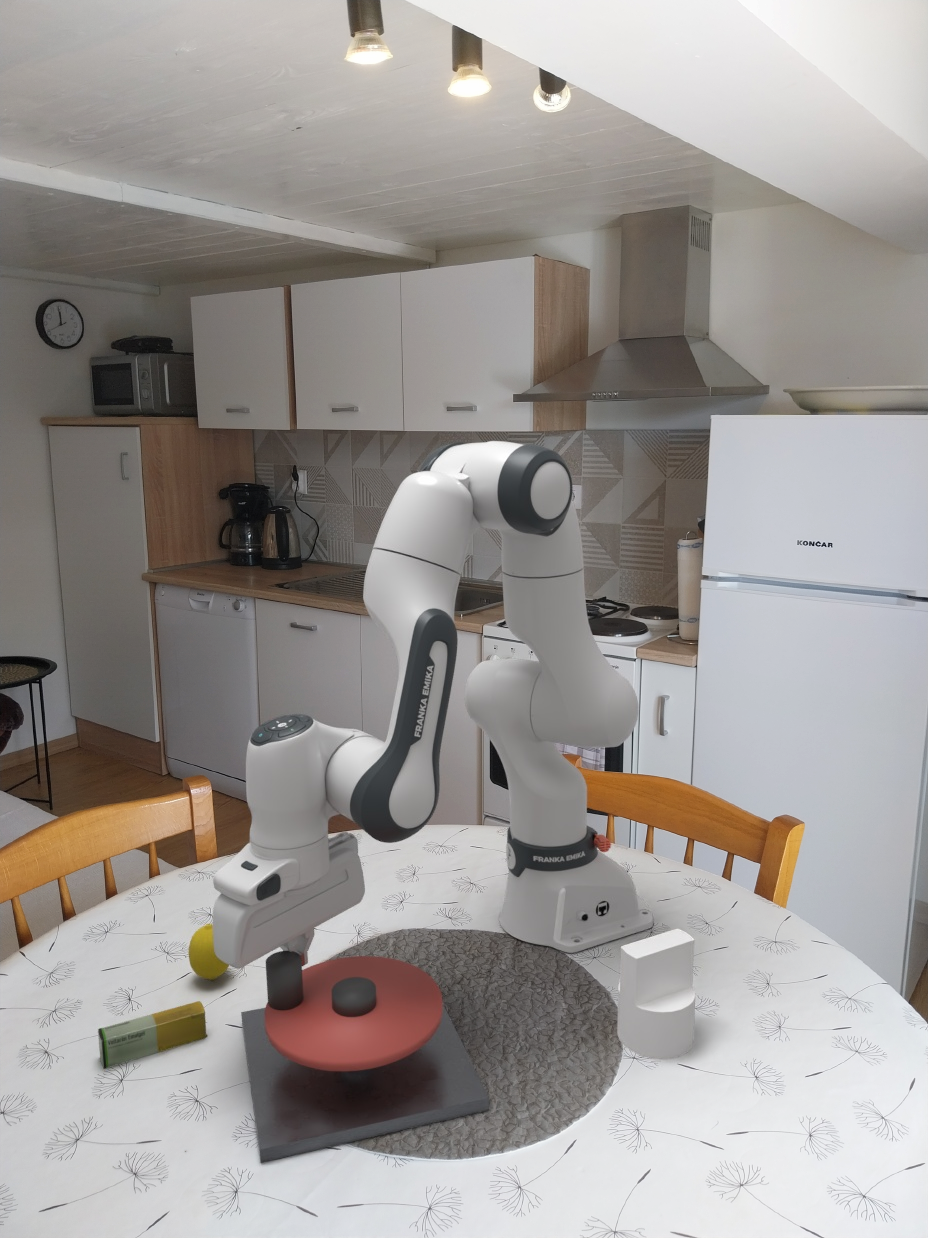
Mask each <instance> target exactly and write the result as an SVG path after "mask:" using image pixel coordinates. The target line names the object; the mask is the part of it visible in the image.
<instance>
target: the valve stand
mask: <svg viewBox="0 0 928 1238" xmlns="http://www.w3.org/2000/svg"><path fill="white" fill-rule="evenodd" d="M265 1008H266V1007H262V1008H261V1007H260V1008H257V1009H252V1010H246V1011H245V1010H244V1011H241V1012H240V1013H241V1015H240V1016H241V1026H242V1034H243V1035H242V1036H243V1040H244V1050H245V1057H246V1064H247V1070H248V1077H249V1085H250V1092H251V1093H250V1094H251V1099H252V1109H253V1114H254V1122H255V1131H256V1138H257V1145H258V1153H259V1160H260V1163H265V1162H270V1161H273V1160H279V1159H283V1158H287V1157H292V1156H296V1155H300V1154H304V1153H308V1152H313V1151H317V1150H322V1149H326V1148H330V1147H335V1146H340V1145H344V1144H348V1143H352V1142H357V1141H361V1140H365V1139H369V1138H373V1137H378V1136H383V1135H387V1134H392V1133H395V1132H399V1131H404V1130H409V1129H414V1128H417V1127H420V1126H422V1127H423V1126H425V1125H429V1124H433V1123H434V1124H435V1123H438V1122H442V1121H446V1120H447V1121H448V1120H451V1119H456V1118H460V1117H464V1116H468V1115H473V1114H478V1113H482V1112H487V1111H489V1110H490V1097H489V1095H488V1093H487V1091H486V1088H485V1086H484V1084H483V1083H482V1080H481V1078H480V1077H479V1074H478V1072H477V1070H476V1068H475V1067H474V1065H473V1062H472V1060H471V1058H470V1056H469V1054H468V1052H467V1050H466V1048H465V1046H464V1044H463V1041H462V1040H461V1037H460V1036H459V1034H458V1031H457V1030H456V1027H455V1026H454V1024H453V1021H452V1019H451V1017H450V1015H449V1012H448V1011H447V1010H446V1007H445V1005H444V1004H443V1013H442V1020H441V1022H440V1025H439V1027H438V1029H437V1031H436V1032H435V1034H434V1035H433V1036H432V1037H431V1039H430V1040H429V1041H428V1042H427V1043H426V1044H424V1045H423V1046H422V1047H421V1048H419V1049H418V1050H417V1051H415V1052H413V1053H412V1054H410V1055H408V1056H406V1057H404V1058H402V1059H400V1060H398V1061H395V1062H393V1063H390V1064H387V1065H384V1066H380V1067H376V1068H371V1069H365V1070H358V1071H327V1070H319V1069H315V1068H310V1067H307V1066H303V1065H300V1064H298V1063H296V1062H293V1061H291V1060H289V1059H288V1058H286V1057H285V1056H283V1055H281V1054H280V1053H279V1052H278V1051H277V1050H276V1049H275V1048H274V1047H273V1046H272V1044H271V1043H270V1041H269V1039H268V1037H267V1034H266V1030H265Z"/></svg>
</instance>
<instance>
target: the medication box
mask: <svg viewBox="0 0 928 1238" xmlns="http://www.w3.org/2000/svg"><path fill="white" fill-rule="evenodd" d="M206 1023H207V1021H206V1010H205V1007H204V1005H203V1003H202V1001H200V1000H198V1001H195V1002H190V1003H187V1004H184V1005H183V1004H182V1005H180V1006H176V1007H173V1008H169V1009H165V1010H161V1011H157V1012H154V1013H152V1014H148V1015H143V1016H141V1017H137V1018H132V1019H129V1020H126V1021H123V1022H120V1023H119V1022H118V1023H115V1024H112V1025H109V1026H105V1027H101V1028H98V1029H97V1034H98V1035H97V1036H98V1049H99V1059H100V1060H99V1062H100V1065H101V1067H102V1069H108V1068H111V1067H114V1066H119V1065H121V1064H124V1063H127V1062H131V1061H134V1060H139V1059H141V1058H145V1057H148V1056H150V1055H151V1056H152V1055H154V1054H157V1053H162V1052H164V1051H167V1050H170V1049H174V1048H177V1047H180V1046H183V1045H187V1044H191V1043H194V1042H196V1041H197V1042H198V1041H201V1040H203V1039H206V1038H208V1035H207V1027H206Z"/></svg>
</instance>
